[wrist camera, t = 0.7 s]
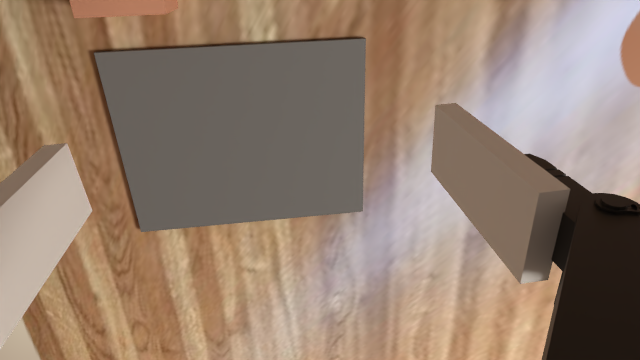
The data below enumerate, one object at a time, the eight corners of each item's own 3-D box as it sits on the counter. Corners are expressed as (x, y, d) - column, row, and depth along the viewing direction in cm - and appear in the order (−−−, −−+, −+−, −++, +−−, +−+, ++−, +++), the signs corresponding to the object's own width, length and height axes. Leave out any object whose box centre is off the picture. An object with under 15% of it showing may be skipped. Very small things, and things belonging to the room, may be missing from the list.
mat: (95, 51, 34) (93, 52, 34) (364, 37, 36) (365, 38, 36) (142, 229, 42) (141, 231, 41) (361, 208, 44) (362, 211, 44)
